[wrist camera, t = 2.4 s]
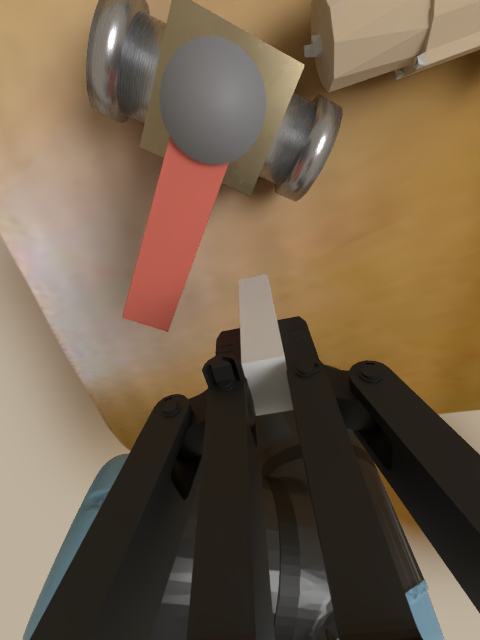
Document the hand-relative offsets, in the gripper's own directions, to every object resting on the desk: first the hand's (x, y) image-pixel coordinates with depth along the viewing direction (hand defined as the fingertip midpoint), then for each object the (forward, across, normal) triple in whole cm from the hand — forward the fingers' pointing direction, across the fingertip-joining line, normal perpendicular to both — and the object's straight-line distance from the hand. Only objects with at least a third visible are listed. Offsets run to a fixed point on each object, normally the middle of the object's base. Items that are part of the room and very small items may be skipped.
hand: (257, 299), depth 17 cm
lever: (+5, +3, -5) cm, 8 cm away
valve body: (+12, 0, -9) cm, 15 cm away
